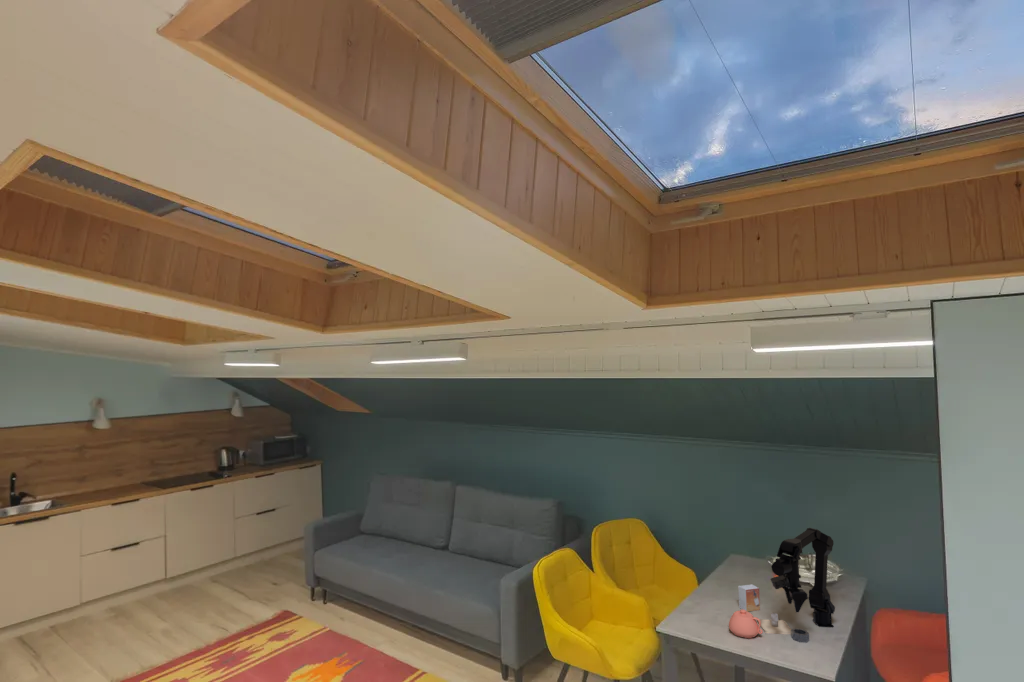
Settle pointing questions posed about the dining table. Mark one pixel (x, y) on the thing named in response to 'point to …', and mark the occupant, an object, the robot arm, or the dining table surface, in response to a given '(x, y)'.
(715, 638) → the dining table surface
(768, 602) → the dining table surface
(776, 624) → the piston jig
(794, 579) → the robot arm
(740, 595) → the small box
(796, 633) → the ring
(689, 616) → the dining table surface
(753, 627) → the sugar bowl
